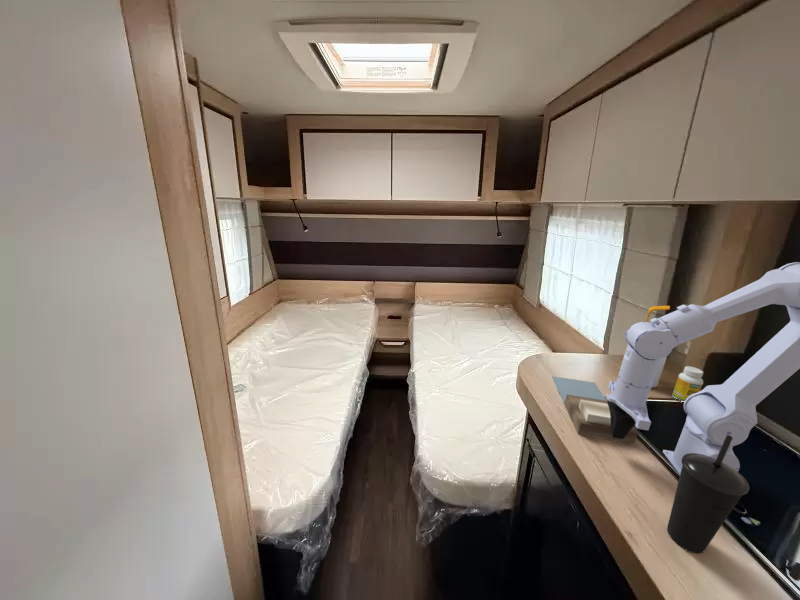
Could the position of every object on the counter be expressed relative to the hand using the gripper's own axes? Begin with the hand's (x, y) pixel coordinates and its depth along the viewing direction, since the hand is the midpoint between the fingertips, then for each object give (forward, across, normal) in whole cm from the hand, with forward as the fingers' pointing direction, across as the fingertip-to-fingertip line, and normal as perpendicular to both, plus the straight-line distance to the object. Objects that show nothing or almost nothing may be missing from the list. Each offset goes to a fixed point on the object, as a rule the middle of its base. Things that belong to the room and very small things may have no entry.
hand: (616, 436), depth 72 cm
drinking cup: (+4, +19, +4) cm, 20 cm away
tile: (+1, -8, 0) cm, 8 cm away
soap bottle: (+4, -37, +21) cm, 43 cm away
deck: (+4, -10, 0) cm, 11 cm away
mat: (+4, -23, 0) cm, 24 cm away
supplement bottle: (+4, -29, +29) cm, 41 cm away
